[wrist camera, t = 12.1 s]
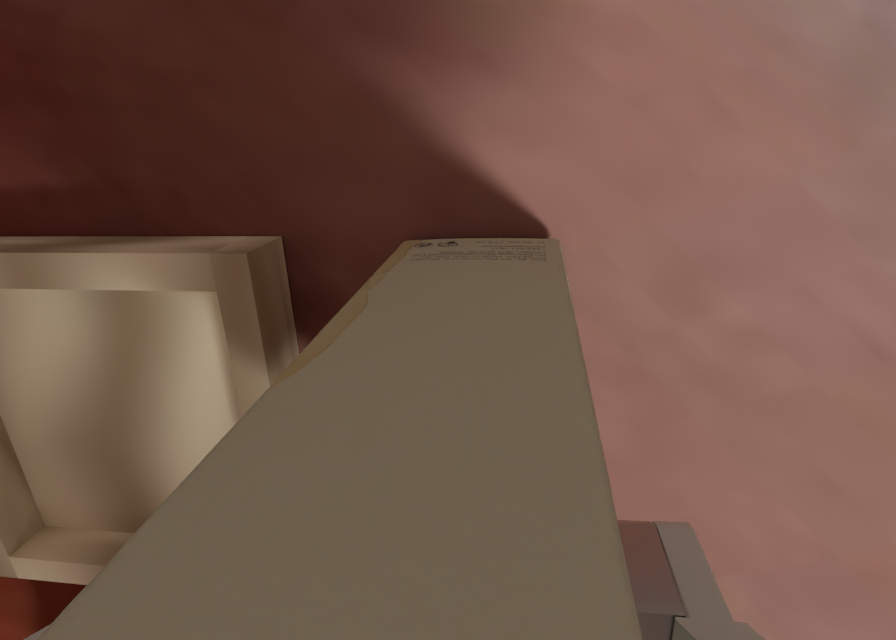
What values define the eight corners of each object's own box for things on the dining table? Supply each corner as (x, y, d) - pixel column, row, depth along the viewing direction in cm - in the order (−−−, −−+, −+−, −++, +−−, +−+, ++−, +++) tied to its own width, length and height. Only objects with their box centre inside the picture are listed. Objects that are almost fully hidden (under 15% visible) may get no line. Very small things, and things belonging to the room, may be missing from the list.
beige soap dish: (281, 236, 14) (246, 253, 13) (330, 559, 19) (309, 607, 17) (-82, 236, 16) (-159, 251, 14) (41, 534, 20) (-7, 575, 19)
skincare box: (401, 236, 14) (-137, 711, 3) (569, 235, 13) (727, 874, 2) (417, 433, 16) (151, 1122, 5) (559, 441, 16) (613, 1270, 4)
